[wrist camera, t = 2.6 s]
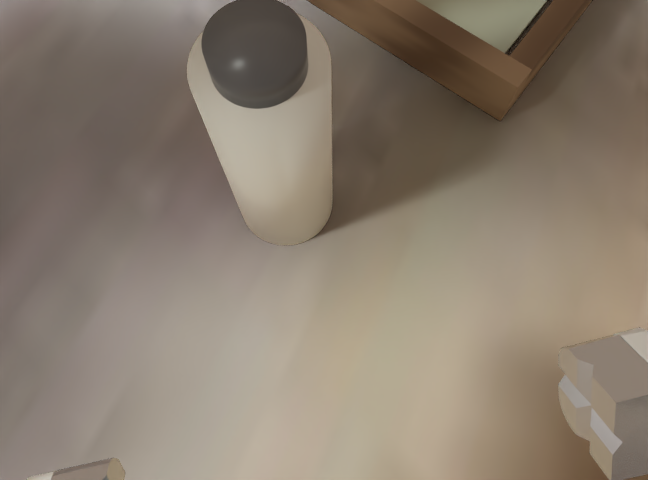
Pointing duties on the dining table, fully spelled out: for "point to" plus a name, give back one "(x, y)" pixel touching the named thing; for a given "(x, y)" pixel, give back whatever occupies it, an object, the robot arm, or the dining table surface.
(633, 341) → the robot arm
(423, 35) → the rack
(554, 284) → the dining table surface
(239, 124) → the white capped tube
